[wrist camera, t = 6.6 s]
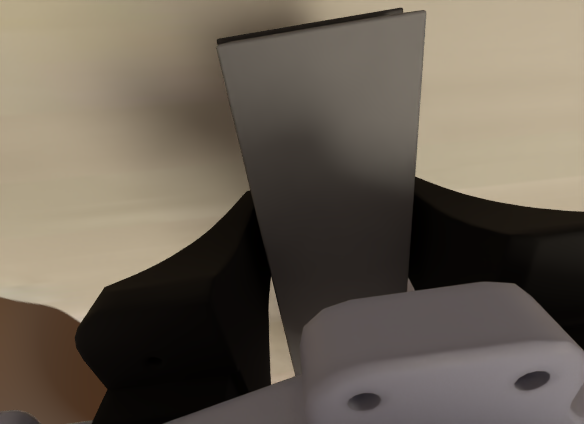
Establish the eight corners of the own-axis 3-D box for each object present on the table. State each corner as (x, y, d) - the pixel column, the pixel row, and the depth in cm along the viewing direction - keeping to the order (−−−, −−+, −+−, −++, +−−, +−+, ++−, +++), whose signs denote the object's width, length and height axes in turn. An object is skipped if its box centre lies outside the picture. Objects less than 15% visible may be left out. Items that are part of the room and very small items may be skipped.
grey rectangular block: (370, 281, 16) (409, 385, 11) (287, 293, 16) (293, 400, 12) (365, 14, 10) (445, -1, 5) (233, 36, 10) (197, 41, 5)
